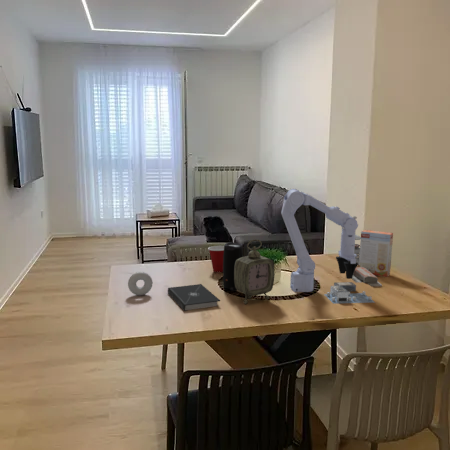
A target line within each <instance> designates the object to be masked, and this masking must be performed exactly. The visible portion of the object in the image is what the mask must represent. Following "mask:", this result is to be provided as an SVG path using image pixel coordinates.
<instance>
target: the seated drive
mask: <svg viewBox="0 0 450 450" xmlns="http://www.w3.org/2000/svg"><path fill="white" fill-rule="evenodd" d="M349 292H350V291H347V290H346V289H344V288H343V287H342V286H334V285H330V296H331V297H335V301H336V302H348V294H349Z"/></svg>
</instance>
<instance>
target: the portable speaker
mask: <svg viewBox="0 0 450 450" xmlns="http://www.w3.org/2000/svg"><path fill="white" fill-rule="evenodd" d="M223 246H224V254H223V272H222V280H223V281H222V282H223V289H225V290H226V289H229V290H230V291H232V292H237V290H236V287H235V283H234V268H235V262H236V260H237V259H239V258H241V257H244V250H243V249H244V246H243V243H234V242H226V243H225V244H224V245H223Z"/></svg>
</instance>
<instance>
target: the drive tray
mask: <svg viewBox="0 0 450 450" xmlns="http://www.w3.org/2000/svg"><path fill="white" fill-rule="evenodd" d="M348 292H349V294H348V302H336V301H335V297H331V296H330V292H329V291H328V292H326V293H324V294H323V295H324V296H325V297H326V298H327V299H328V301H330V302H331V303H332V304H335V305H336V304H361V303H362V304H365V303H366V304H367V303H375V301H374V300H373V299H372V296H371V295H370V296H368V295H367V294H366V291H365V290H363V291H362V292H358V293H351V291H348Z"/></svg>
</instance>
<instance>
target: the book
mask: <svg viewBox="0 0 450 450" xmlns="http://www.w3.org/2000/svg"><path fill="white" fill-rule="evenodd" d="M167 294H168V296H169V297H170V298H171V299H172V300H173V301H174V302H175V303H176V304H177V305H178V306H179V307H180V309H182V311H183V312H186V311H190V310H196V309H197V310H198V309H204V308H205V309H206V308H210V307H218V302H221V300H220V299H219V298H218V297H217V296H216V295H215V294H214V293H212V292H211V291H210V290H208V289H207V287H205V286H204V285H203V284H202V283H199V284H191V285H182V286H173V287H172V286H171V287H168V288H167Z"/></svg>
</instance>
